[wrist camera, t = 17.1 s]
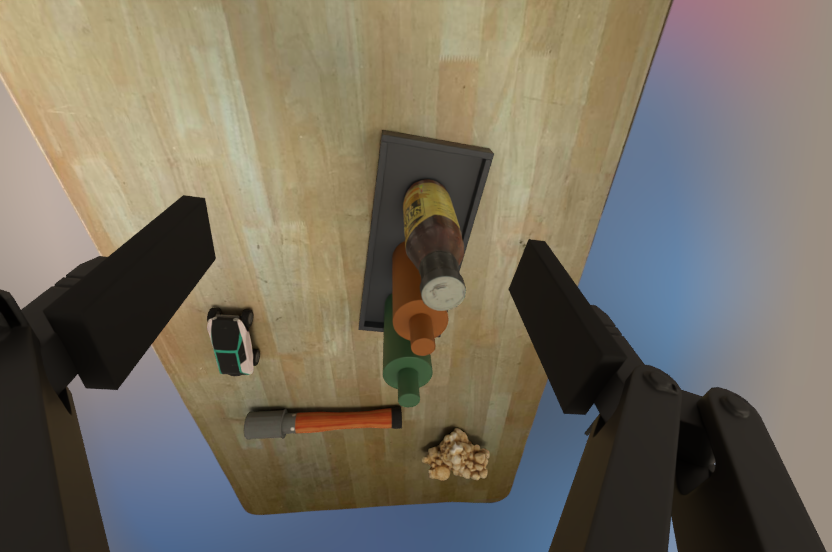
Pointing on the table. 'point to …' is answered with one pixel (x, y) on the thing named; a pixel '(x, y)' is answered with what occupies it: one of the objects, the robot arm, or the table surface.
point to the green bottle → (403, 362)
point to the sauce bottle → (434, 244)
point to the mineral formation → (457, 458)
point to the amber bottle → (413, 306)
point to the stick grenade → (316, 422)
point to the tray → (396, 173)
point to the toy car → (232, 342)
